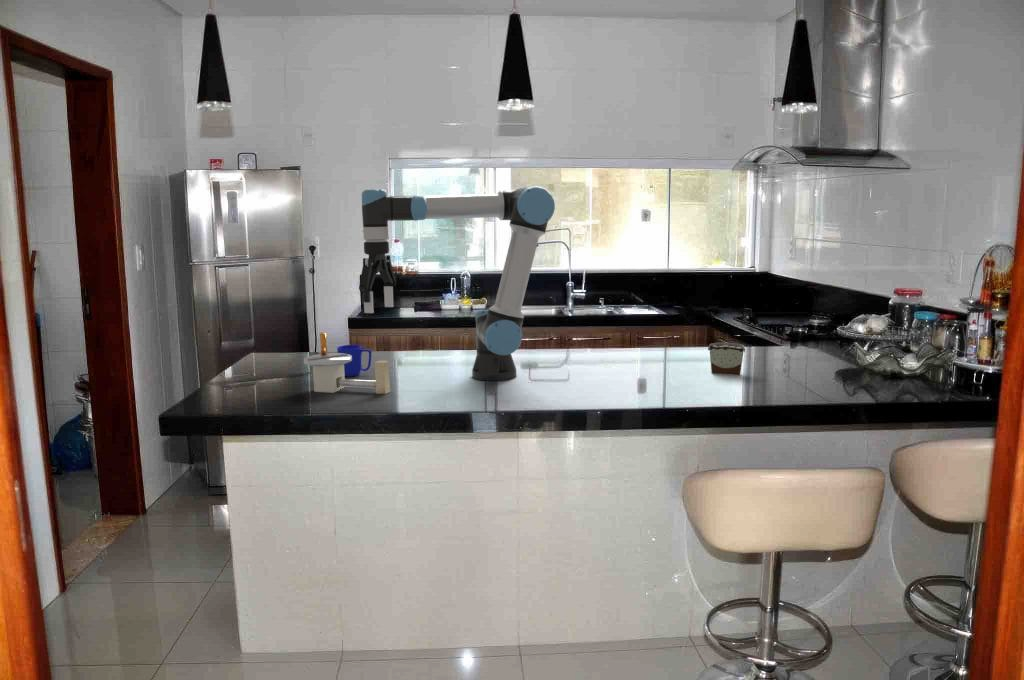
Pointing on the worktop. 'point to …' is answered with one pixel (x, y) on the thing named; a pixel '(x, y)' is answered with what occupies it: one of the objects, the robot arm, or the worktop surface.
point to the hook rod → (380, 384)
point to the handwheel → (327, 356)
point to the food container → (726, 358)
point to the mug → (354, 359)
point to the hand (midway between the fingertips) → (379, 309)
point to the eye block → (327, 378)
